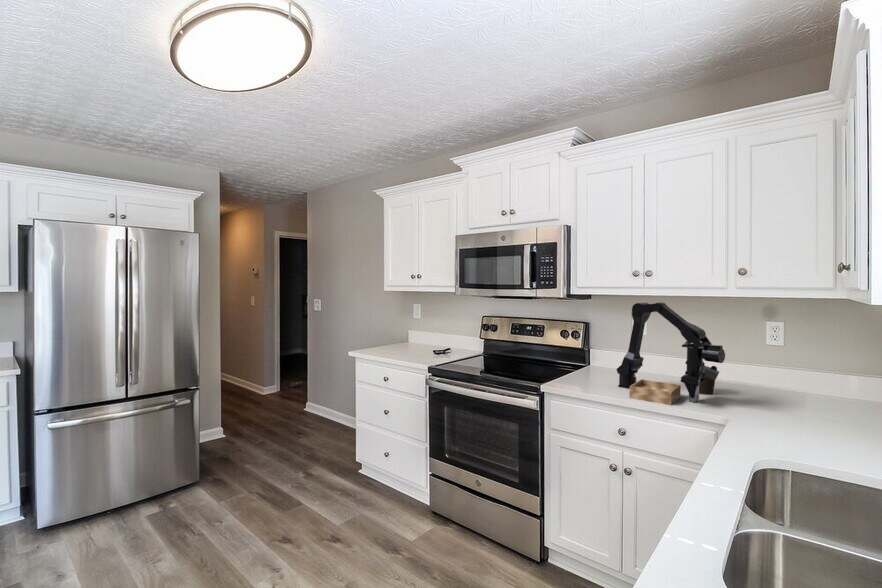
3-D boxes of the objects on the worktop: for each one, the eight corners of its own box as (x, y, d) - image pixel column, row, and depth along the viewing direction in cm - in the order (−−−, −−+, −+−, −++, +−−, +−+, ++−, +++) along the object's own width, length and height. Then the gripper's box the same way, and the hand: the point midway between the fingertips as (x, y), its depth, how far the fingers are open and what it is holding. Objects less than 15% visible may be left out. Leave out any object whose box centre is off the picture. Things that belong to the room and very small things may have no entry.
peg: (687, 401, 183) (688, 382, 183) (689, 400, 186) (690, 381, 186) (697, 403, 181) (698, 384, 181) (699, 401, 184) (700, 382, 183)
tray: (629, 397, 189) (629, 386, 189) (640, 390, 202) (641, 379, 201) (670, 405, 179) (671, 392, 179) (680, 396, 191) (680, 385, 191)
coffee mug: (711, 396, 191) (712, 373, 191) (690, 392, 198) (690, 370, 197) (721, 392, 198) (722, 369, 198) (700, 388, 205) (701, 366, 205)
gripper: (713, 365, 170) (712, 405, 171) (721, 358, 185) (720, 395, 185) (680, 361, 178) (679, 400, 178) (691, 355, 192) (690, 391, 193)
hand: (693, 396), depth 183 cm, fingers open, 4 cm apart
